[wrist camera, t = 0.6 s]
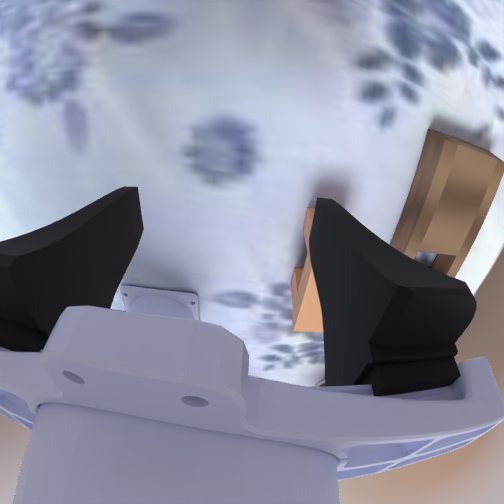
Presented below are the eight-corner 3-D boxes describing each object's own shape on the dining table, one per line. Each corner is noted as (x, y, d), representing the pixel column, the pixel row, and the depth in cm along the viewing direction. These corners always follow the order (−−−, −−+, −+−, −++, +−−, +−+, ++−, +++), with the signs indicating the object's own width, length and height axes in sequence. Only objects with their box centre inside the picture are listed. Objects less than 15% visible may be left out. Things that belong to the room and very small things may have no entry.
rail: (385, 355, 35) (389, 371, 33) (336, 356, 35) (339, 373, 33) (489, 151, 18) (506, 163, 16) (428, 128, 18) (445, 139, 16)
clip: (321, 290, 28) (328, 332, 24) (289, 287, 28) (293, 331, 24) (346, 206, 22) (363, 245, 18) (308, 201, 22) (319, 240, 18)
